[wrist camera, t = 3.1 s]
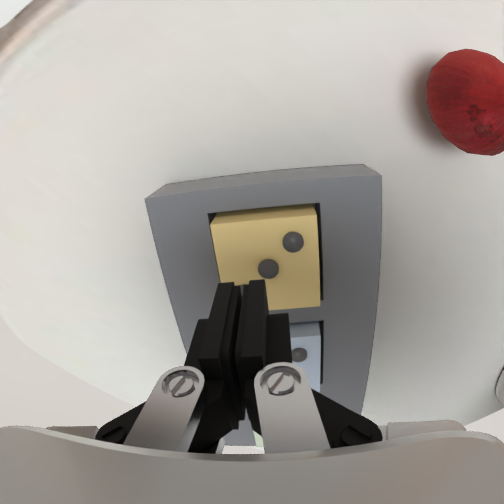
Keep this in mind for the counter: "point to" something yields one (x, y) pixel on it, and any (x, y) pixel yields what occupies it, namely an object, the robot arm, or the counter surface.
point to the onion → (469, 100)
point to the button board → (330, 261)
